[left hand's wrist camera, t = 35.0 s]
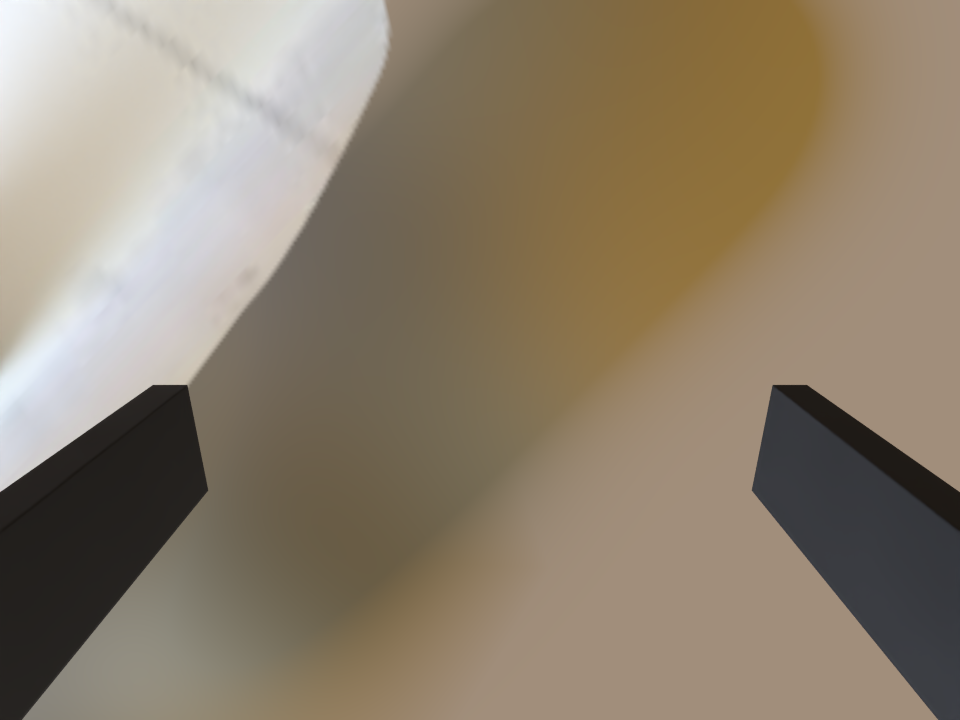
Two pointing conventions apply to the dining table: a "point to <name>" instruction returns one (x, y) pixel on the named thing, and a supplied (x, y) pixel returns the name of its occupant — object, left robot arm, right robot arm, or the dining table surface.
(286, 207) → the dining table surface
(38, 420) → the dining table surface
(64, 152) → the dining table surface
